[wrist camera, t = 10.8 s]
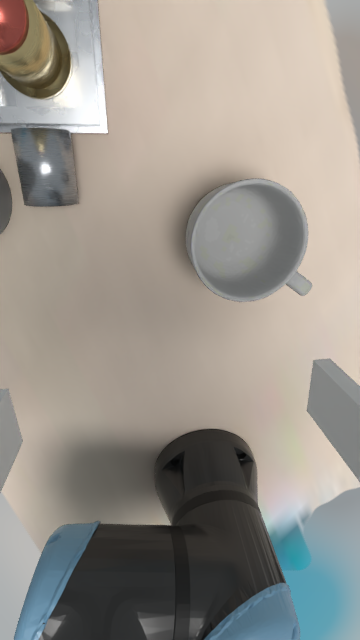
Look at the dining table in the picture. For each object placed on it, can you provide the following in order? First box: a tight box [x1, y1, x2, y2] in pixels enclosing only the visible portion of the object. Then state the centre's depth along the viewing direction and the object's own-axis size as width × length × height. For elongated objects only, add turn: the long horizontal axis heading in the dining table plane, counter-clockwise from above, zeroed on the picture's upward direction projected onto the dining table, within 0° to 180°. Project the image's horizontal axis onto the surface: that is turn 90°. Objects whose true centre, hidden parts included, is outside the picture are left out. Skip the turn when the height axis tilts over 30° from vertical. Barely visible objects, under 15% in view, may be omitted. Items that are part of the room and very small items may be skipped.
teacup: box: [186, 179, 312, 302], centre depth 34 cm, size 14×11×8 cm
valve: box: [0, 0, 72, 100], centre depth 24 cm, size 6×6×10 cm
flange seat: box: [0, 0, 108, 206], centre depth 28 cm, size 17×11×5 cm, turn 0°
